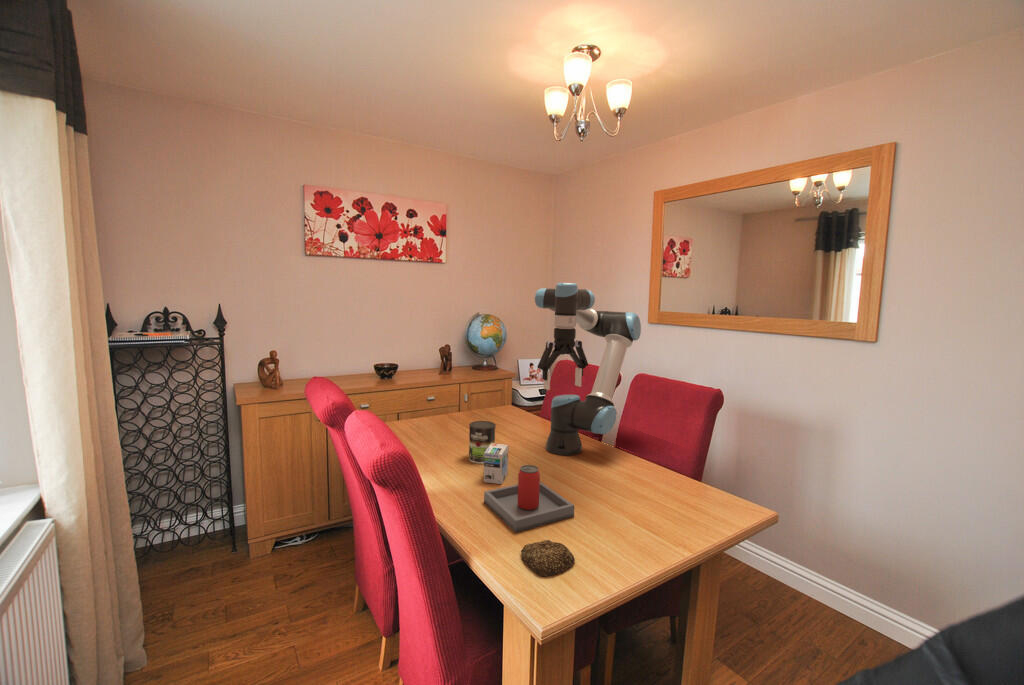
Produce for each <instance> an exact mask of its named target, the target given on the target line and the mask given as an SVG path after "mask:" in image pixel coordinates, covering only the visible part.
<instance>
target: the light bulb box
mask: <svg viewBox="0 0 1024 685" xmlns="http://www.w3.org/2000/svg"><path fill="white" fill-rule="evenodd" d="M508 473H509V445H508V444H502V443H496V442H495V443H491V444H490V446H489V447H488V448H487V450H486V451H485V452H484V464H483V483H488V484H496V485H497V484H498V485H502V484H503V482H504V481H505V479H506V478H507V476H508V475H509V474H508Z"/></svg>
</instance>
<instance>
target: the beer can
mask: <svg viewBox="0 0 1024 685" xmlns="http://www.w3.org/2000/svg"><path fill="white" fill-rule="evenodd" d="M517 478H518V479H517V484H518V503H517V504H518V506H519V507H520V508H521V509H523V510H534V509H536V508H538V506H539V487H540V482H541V480H540V479H541V475H540V470H539V468H538V466H536V465H534V464H525V465H524V464H523V465H521V466H520V468H519V472H518V477H517Z"/></svg>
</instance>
